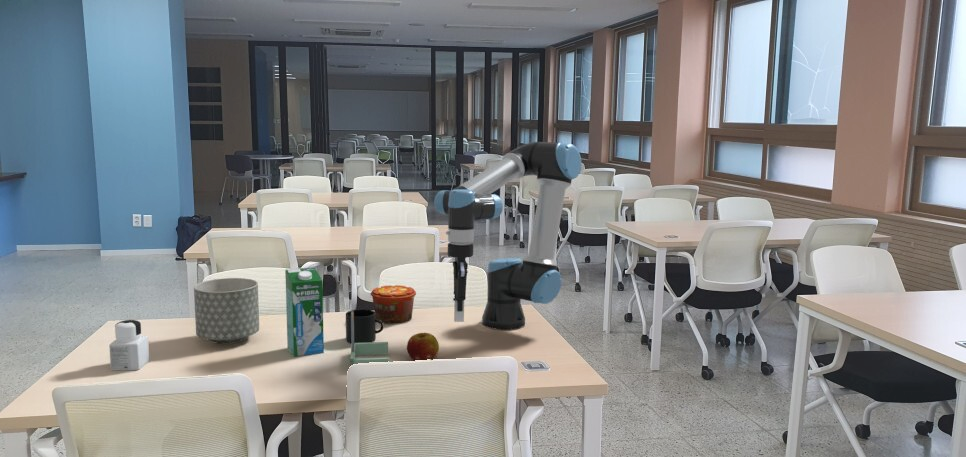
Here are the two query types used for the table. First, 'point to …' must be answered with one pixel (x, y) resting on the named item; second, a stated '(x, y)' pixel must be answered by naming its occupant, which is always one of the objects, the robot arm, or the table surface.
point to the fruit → (422, 346)
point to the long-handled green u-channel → (366, 348)
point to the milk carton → (304, 311)
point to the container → (129, 347)
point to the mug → (362, 326)
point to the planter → (226, 309)
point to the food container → (393, 303)
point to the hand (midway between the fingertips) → (458, 320)
